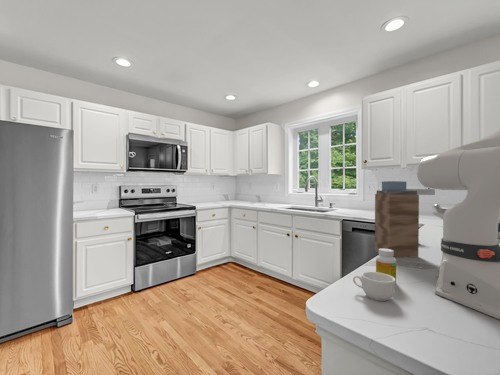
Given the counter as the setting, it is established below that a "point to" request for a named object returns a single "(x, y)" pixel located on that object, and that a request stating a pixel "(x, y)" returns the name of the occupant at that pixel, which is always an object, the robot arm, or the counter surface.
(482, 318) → the counter surface
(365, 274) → the teacup
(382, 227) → the socket tower
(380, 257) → the supplement bottle
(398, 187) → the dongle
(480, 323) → the counter surface
